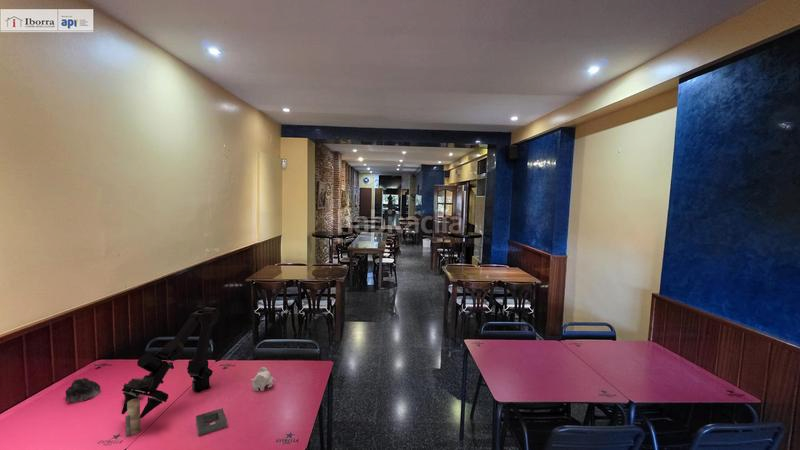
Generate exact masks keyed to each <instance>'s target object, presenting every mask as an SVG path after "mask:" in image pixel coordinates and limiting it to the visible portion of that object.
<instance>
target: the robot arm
mask: <svg viewBox="0 0 800 450" xmlns="http://www.w3.org/2000/svg"><path fill="white" fill-rule="evenodd" d="M220 315H221V313H220V311H219V309H218V308H217V307H208V306H206V307H204V308H202V309H200V310H197V311H194V312H192V313H190V314H189V317H188V319H187V320H186V322H185V323H184V324H183V325H182V327H181V329H180V330H179V331H178V333H177V334H176V335H175V337H174V338H173V339H172V340H170V341H168V342H167V343H166V344H165V345H164V346H163V347H162V348H161V349H160V350H159V351H157V352H155V351H153V350H148V352H147V353H144V354H143V355H141V356H140V357H138V360H137V363H136V364H137V366H138V367H139V368H141V369H143V370H145V371H147V372H148V373H149V374H148V375H147V374H145V375H144V376H143V377H142V378H131V380H130V381H131V382H130V385H126V386H124V385H123V387H122V389H121V392H122V394H123V396H124V402H123V405H122V409H121V412H120V414H121V415H125V414H126V413H127V402H128V401H130V400H132V399H139V398H138V397H136V396H138V395H139V396H140V395H141V396H147V403H146V404H145V406H144V407H143V409H142V412H140V417H139V418H140V419H143V418H144V417H145V416H147V415H148V414H149V413H150V412H151V411H152V410H153V409H155V408H157V407H158V406H160V405H163V402H164V403H166V402H167V401H168V400H169V393H166V392H165V391H162V390H160V389H159V390H158V388H159V386H160V385H161V384H164V382H165V381H164V378H165V377H166V375H167V374H168V372H169V370H174V369H175V366H174V362H175V361H178V360H179V359H180V358H181V355H182V353H183V351H184V349H185V348H184V347H185V344H186V342H187V341H188V339H189V338H190V336H191V335H192V334H193V332H194V330H196V328H197V326H198V325H199V323H200V325H201V328H200V332H199V335H198V336H199V337H198V340H197V345H196V349H195V350H196V351H195V354H194V356H193V358H192V359H189V360H188V365H187V368H186V370H187V375H189V377H190V378H192V382H191V384H192V385H191V389H192V391H194V392H195V393H196V394H199V393H201V392H204V391H206V390H209V389H211V388H212V386H211V385H210V378H211V376H213V373H214V372H213V370H212V369H211V368H209V361H208V360H209V359H208V358H207V355H208V350H209V348H210V347H209V345H210V340H211V336H212V333H213V332H212V331H213V328H214V326H215V324H217V322H218V321H219V317H220Z"/></svg>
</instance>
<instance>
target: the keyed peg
mask: <svg viewBox="0 0 800 450" xmlns="http://www.w3.org/2000/svg"><path fill="white" fill-rule="evenodd" d="M126 413H127V415H125V417H124V418H125V437H130V436H133V435H136V434H138V433H139V432H141V429H142V427H141V418H139V417H140V415H141V400H140V398H138V399H132V400H130V401H128V402H127V412H126Z"/></svg>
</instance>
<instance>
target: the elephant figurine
mask: <svg viewBox="0 0 800 450" xmlns="http://www.w3.org/2000/svg"><path fill="white" fill-rule="evenodd" d="M274 380H275V381H276V378H274V377H273V376H272V375H271V372H270V371H269V370H268V368H267V367H265V366H261V367H260V368H259V369H258V371H257V374H256V375H255V376H254V378H250V381H252V384H251V385H252V390H253V391H254V392H256V391H257V392H264V390H265V387H266V386H267V388H271V387H272V385H275V384H274Z"/></svg>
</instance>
